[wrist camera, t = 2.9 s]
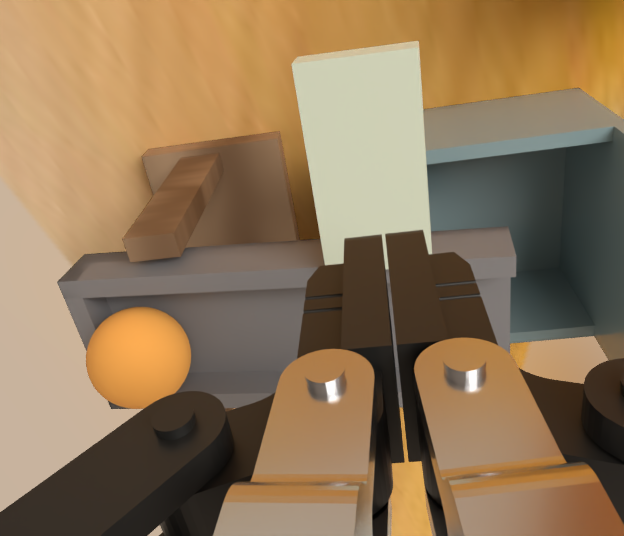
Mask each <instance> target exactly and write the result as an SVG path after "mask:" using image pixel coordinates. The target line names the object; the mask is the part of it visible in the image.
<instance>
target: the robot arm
mask: <svg viewBox="0 0 624 536" xmlns="http://www.w3.org/2000/svg"><path fill="white" fill-rule="evenodd" d="M385 238H386V248H387V258H388V267H389V277H390V287H391V296H392V306H393V316H394V326H395V335H396V345H397V354H398V364H399V374H400V383H401V393H402V402H403V412H404V421H405V431H406V440H407V450H408V459H409V462H415V461H422V469H423V476H424V485H425V496H426V506H427V511H428V516H429V521H430V525H431V530H432V534H433V536H624V358H619V359H613V360H609V361H606V362H603V363H601V364H599V365H597V366H596V367H594V368H593V369H592V370H591V371H590V372H589V373H588V374H587V376H586V378H585V382H584V384H580V383H573V382H566V381H558V380H552V379H547V378H542V377H539V376H535V375H533V374H530V373H528V372H525V371H523V370H521V369H520V368H518V366H517V364H516V362H515V360H514V359H513V357H512V356H511V355H510V354H509V353H508V352H507V351H506V350H505V349H503V348H502V347H500V346H498V343H497V340H496V337H495V335H494V332H493V329H492V326H491V323H490V320H489V317H488V314H487V312H486V309H485V306H484V303H483V300H482V297H481V296H480V291H479V288H478V286H477V283H476V280H475V277H474V274H473V271H472V268H471V265H470V264H469V263H468V262H467V261H465V260H464V259H463V258H461V257H460V256H459V255H457V254H456V253H455V252H447V253H437V254H429V253H428V249H427V245H426V240H425V236H424V232H423V230H414V231H405V232H396V233H387V234H385ZM303 312H304V314H303V317H302V324H301V332H300V340H299V347H298V355H297V359H296V360H295V361H293V362H292V363H291V364H289V365H288V366H287V368H286V369H285V370H284V371H283V373H282V374H281V376H280V379H279V382H278V385H277V389H276V392H275V393H273V394H272V395H270V396H268V397H266V398H264V399H262V400H260V401H257V402H255V403H252V404H249V405H245V406H242V407H239V408H236V409H233V410H230V411H225V408H224V406H223V403H222V402H221V401H220V400H219V399H218V398H216V397H215V396H213V395H211V394H209V393H205V392H201V391H185V392H179V393H175V394H171V395H168V396H166V397H163V398H161V399H159V400H157V401H155V402H153V403H152V404H150V405H149V406H147V407H146V408H144V409H143V410H142V411H140V412H139V413H137V414H136V415H135V416H133V417H132V418H131V419H129V420H128V421H126V422H125V423H124V424H122V425H121V426H119V427H118V428H117V429H115V430H114V431H112V432H111V433H110V434H108V435H107V436H106V437H104V438H103V439H102V440H100V441H99V442H98V443H96V444H94V445H93V446H92V447H90V448H89V449H87V450H86V451H85V452H83V453H82V454H81V455H79V456H78V457H77V458H75V459H74V460H72V461H71V462H70V463H68V464H67V465H65V466H64V467H63V468H61V469H60V470H58V471H57V472H56V473H54V474H53V475H52V476H50V477H49V478H47V479H46V480H45V481H43V482H42V483H40V484H39V485H38V486H36V487H35V488H33V489H32V490H31V491H29V492H28V493H27V494H25V495H24V496H22V497H21V498H19V499H18V500H17V501H15V502H14V503H13V504H11V505H10V506H8V507H7V508H6V509H4V510H3V511H1V512H0V536H147V535H148V534H150V533H151V532H152V531H153V530H154V529H155V528H156V527H157V526H159V525H160V526H161V528H162V531H163V533H162V534H160V535H159V536H391V521H392V506H391V497H390V496H391V493H392V489H393V477H392V463H403V462H404V451H403V441H402V430H401V420H400V409H399V399H398V388H397V378H396V367H395V357H394V346H393V336H392V326H391V316H390V306H389V297H388V288H387V279H386V269H385V260H384V251H383V242H382V234H379V235H370V236H361V237H352V238H344V263H343V264H333V265H324V266H319V267H318V269H317V270H316V271H315V272H314V273H313V275H312V276H311V277H310V278H309V279H308V281H307V287H306V294H305V302H304V309H303Z"/></svg>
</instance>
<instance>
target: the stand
mask: <svg viewBox="0 0 624 536" xmlns="http://www.w3.org/2000/svg"><path fill="white" fill-rule="evenodd" d="M142 160H143V163H144V167H145V170H146V173H147V176H148V180H149V183H150V186H151V189H152V193H153V197H152V199H151V200H150V201H149V203H148V204H147V206H146V207H145V208H144V210H143V211H142V213H141V214H140V215H139V217H138V218H137V219H136V221H135V222H134V224H133V225H132V226H131V228H130V229H129V231H128V232H127V233H126V235H125V236H124V237H123V239H122V240H123V242H124V245H125V248H126V251H127V254H128V257H129V260H130V262H137V261H146V260H155V259H164V258H172V257H181V255H182V253H183V251H184V249H185V248H188V247H203V246H218V245H233V244H248V243H263V242H278V241H293V240H300V238H299V233H298V227H297V222H296V217H295V211H294V206H293V200H292V195H291V190H290V184H289V179H288V173H287V168H286V163H285V157H284V152H283V146H282V141H281V136H280V131H278V132H270V133H263V134H256V135H249V136H241V137H234V138H227V139H220V140H212V141H205V142H198V143H191V144H183V145H176V146H169V147H162V148H154V149H148V150H147V152H146V153H145V154H144V155H143V156H142ZM230 410H233V408H225V411H230Z"/></svg>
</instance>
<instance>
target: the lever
mask: <svg viewBox="0 0 624 536" xmlns="http://www.w3.org/2000/svg"><path fill="white" fill-rule="evenodd" d="M292 70H293V76H294V82H295V88H296V94H297V100H298V106H299V112H300V118H301V124H302V130H303V136H304V142H305V148H306V154H307V160H308V166H309V172H310V178H311V184H312V190H313V196H314V203H315V209H316V215H317V221H318V227H319V233H320V239H308V240H293V241H278V242H263V243H248V244H233V245H218V246H203V247H188V248H185V249H184V251H183V253H182V255H181V257H172V258H164V259H155V260H146V261H137V262H130V260H129V257H128V254H127V252H112V253H97V254H84V255H83V256H82V257H81V258H80V259H79V260H78V261H77V262H76V263H75V264H74V265H73V266H72V267H71V268H70V270H69V271H68V272H67V273H66V274H65V275H64V276H63V277H62V278H61V279H60V280H59V281H58V282H57V283H58V285H59V287H60V290H61V292H62V294H63V297H64V299H65V301H66V304H67V306H68V308H69V310H70V313H71V316H72V318H73V320H74V323H75V325H76V327H77V329H78V332H79V334H80V337H81V339H82V341H83V344H84V346H85V348H86V351H87V348H88V344H89V342H90V339H91V337H92V335H93V333H94V332H95V330H96V329H97V328H98V326H99V325H100V324H101V323H102V322H103V321H104V320H106V319H107V318H108V317H109V316H111V315H113V314H114V313H116V312H118V311H121V310H123V309H127V308H131V307H150V308H155V309H158V310H160V311H163V312H165V313H166V314H168V315H170V316H171V317H172V318H174V319H175V320H176V321H177V322H178V323H179V324H180V325H181V327H182V328H183V329H184V331H185V333H186V335H187V337H188V340H189V343H190V348H191V364H190V368H189V372H188V374H187V377H186V379H185V381H184V382H183V384H182V385H181V387H180V388H179V389H178V390H177V392H176V393H179V392H185V391H201V392H205V393H209V394H211V395H213V396H215V397H216V398H218V399H219V400H220V401H221V402H222V403H223V406H224V408H239V407H242V406H245V405H249V404H252V403H255V402H257V401H260V400H262V399H264V398H266V397H268V396H270V395H272V394H273V393H275V392H276V389H277V385H278V382H279V379H280V376H281V374H282V373H283V371H284V370H285V369H286V368H287V366H288V365H289V364H291V363H292V362H293V361H295V360H296V359H297V355H298V347H299V340H300V332H301V324H302V317H303V314H304V312H303V309H304V302H305V294H306V287H307V281H308V279H309V278H310V277H311V276H312V275H313V273H314V272H315V271H316V270H317V269H318V267H319V266H324V265H333V264H343V263H344V238H352V237H361V236H370V235H379V234H382V242H383V251H384V260H385V269H386V279H387V288H388V297H389V306H390V316H391V326H392V336H393V346H394V357H395V367H396V378H397V388H398V399H399V407H403V402H402V393H401V383H400V374H399V364H398V354H397V345H396V335H395V326H394V316H393V306H392V296H391V287H390V277H389V267H388V258H387V248H386V238H385V234H387V233H396V232H405V231H414V230H423V232H424V236H425V240H426V245H427V249H428V253H429V254H437V253H447V252H455V253H456V254H457V255H459V256H460V257H461V258H463V259H464V260H465V261H467V262H468V263H469V264H470V265H471V268H472V271H473V274H474V277H475V280H476V283H477V286H478V288H479V291H480V296H481V297H482V300H483V303H484V306H485V309H486V312H487V314H488V317H489V320H490V323H491V326H492V329H493V332H494V335H495V337H496V340H497V343H498V346H500V347H502V348H503V349H505V350H506V351H507V352H508V353H509V354H510V284H511V277H516V253H515V249H514V246H513V242H512V238H511V235H510V231H509V228H508V226H504V227H489V228H474V229H459V230H444V231H431V226H430V210H429V194H428V179H427V163H426V147H425V132H424V116H423V100H422V84H421V69H420V53H419V41H412V42H405V43H397V44H390V45H382V46H375V47H368V48H360V49H353V50H345V51H338V52H330V53H323V54H315V55H308V56H300V57H297V58H296V59H295V61H294V62H293V63H292ZM108 402H109V405H110V407H111V409H130V408H125V407H121V406H118V405H115V404H113V403H111V402H110V401H108ZM142 409H144V408H142Z"/></svg>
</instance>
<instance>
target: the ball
mask: <svg viewBox="0 0 624 536" xmlns="http://www.w3.org/2000/svg"><path fill="white" fill-rule="evenodd" d="M190 364H191V348H190V343H189V340H188V337H187V335H186V333H185V331H184V329H183V328H182V327H181V325H180V324H179V323H178V322H177V321H176V320H175V319H174V318H172V317H171V316H170V315H168V314H166V313H165V312H163V311H160V310H158V309H155V308H150V307H131V308H127V309H123V310H121V311H118V312H116V313H114V314H113V315H111V316H109V317H108V318H107V319H106V320H104V321H103V322H102V323H101V324H100V325H99V326H98V328H97V329H96V330H95V332H94V333H93V335H92V337H91V339H90V342H89V344H88V348H87V353H86V367H87V372H88V375H89V378H90V380H91V382H92V384H93V386H94V387H95V389H96V390H97V391H98V392H99V393H100V394H101V395H102V396H103V397H104V398H105V399H107V400H108V401H110V402H111V403H113V404H115V405H118V406H121V407H125V408H130V409H142V408H146V407H147V406H149V405H150V404H152V403H153V402H155V401H157V400H159V399H161V398H163V397H166V396H168V395H171V394H175V393H176V392H177V390H178V389H179V388H180V387H181V385H182V384H183V382H184V381H185V379H186V377H187V374H188V372H189V368H190Z"/></svg>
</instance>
